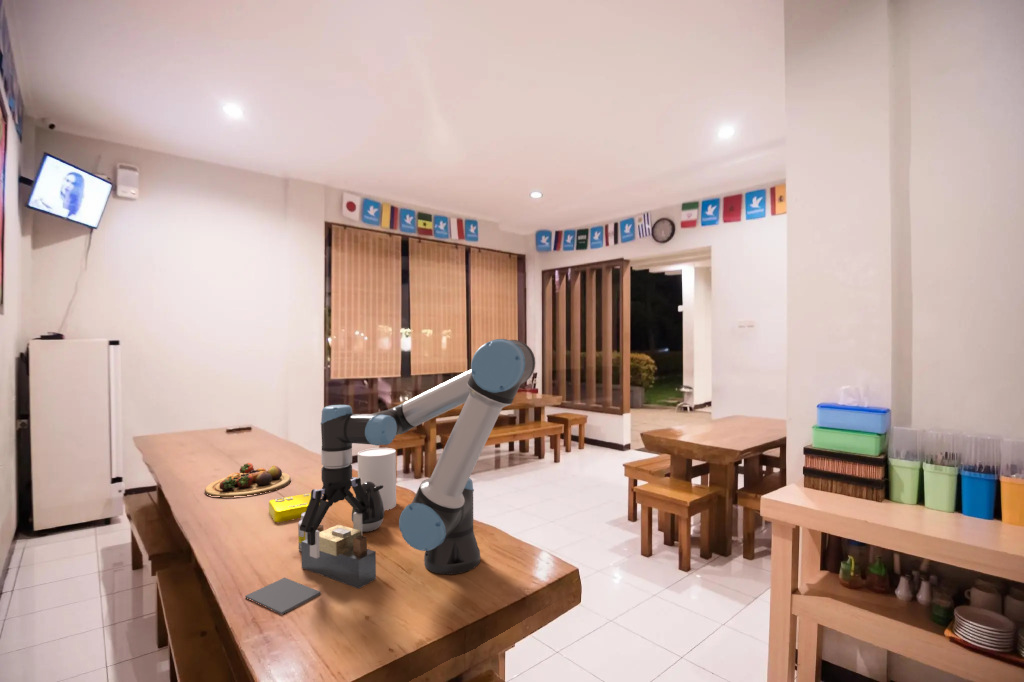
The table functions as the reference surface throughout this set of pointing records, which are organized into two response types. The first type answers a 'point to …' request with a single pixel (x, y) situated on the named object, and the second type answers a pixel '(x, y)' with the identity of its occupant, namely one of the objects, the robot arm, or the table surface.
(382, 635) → the table surface
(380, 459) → the canister
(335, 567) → the plane body
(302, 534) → the supplement bottle
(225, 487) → the wooden plate with food
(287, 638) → the table surface
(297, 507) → the element tile
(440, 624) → the table surface
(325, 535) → the lever cap
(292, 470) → the table surface
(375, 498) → the pump dispenser
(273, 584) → the rubber mat
